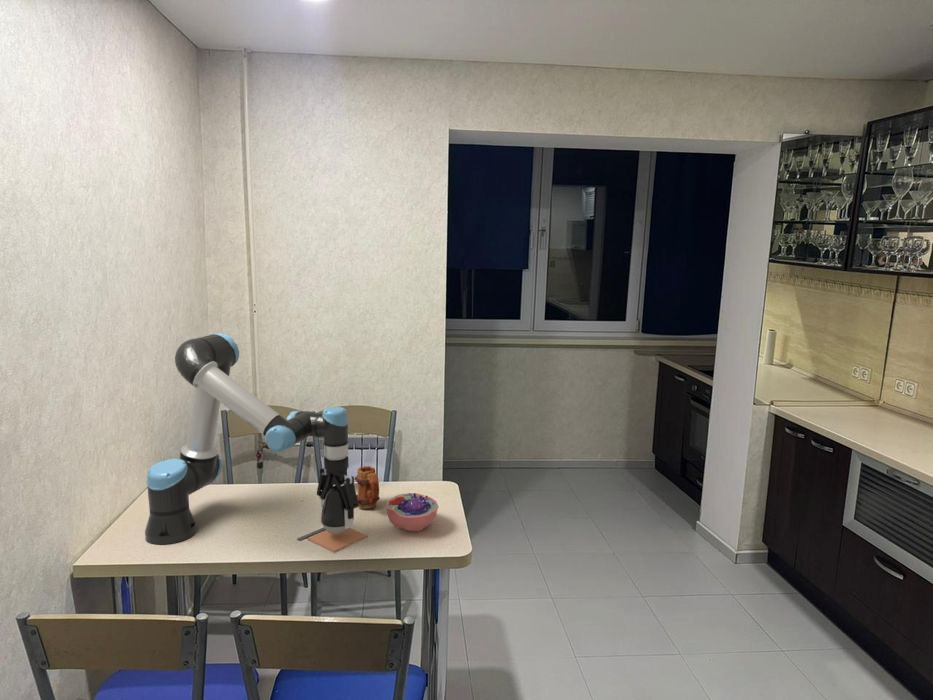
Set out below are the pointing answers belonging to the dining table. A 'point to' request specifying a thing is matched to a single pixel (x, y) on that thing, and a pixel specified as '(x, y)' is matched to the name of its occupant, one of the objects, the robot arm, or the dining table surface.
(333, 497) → the pump dispenser
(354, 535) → the mat
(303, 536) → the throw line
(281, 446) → the robot arm
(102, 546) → the dining table surface
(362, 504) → the mug
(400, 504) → the cell model
